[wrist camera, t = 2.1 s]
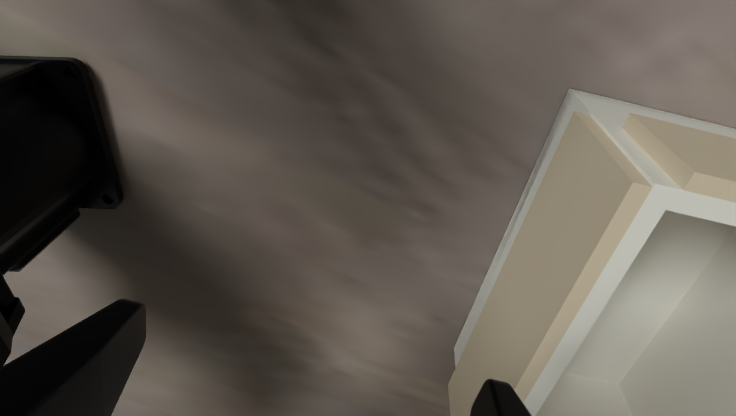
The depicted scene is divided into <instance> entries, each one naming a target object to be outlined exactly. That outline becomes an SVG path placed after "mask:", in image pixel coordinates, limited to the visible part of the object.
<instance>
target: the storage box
mask: <svg viewBox="0 0 736 416" xmlns="http://www.w3.org/2000/svg"><path fill="white" fill-rule="evenodd" d="M454 356H455V367H456V368H455V371H454V373H453V375H452V377H451V379H450V381H449V384H448V393H449V406H450V416H470V412H471V408H472V405H473V403H474V401H475V399H476V397H477V395H478V393H479V391H480V389H481V387H482V385H483V383H484V382H485V381H486V380H487V379H495V380H500V381H504V382H507V383H509V384H510V385H511V386H512V388H513V389H514V390H515V392H516V393H517V395H518V396H519V398H520V399H521V401H522V402H523V404H524V405H525V406H526V408H527V409H528V411H529V412H530V414H531V415H532V416H736V129H734V128H730V127H726V126H722V125H718V124H714V123H710V122H706V121H701V120H697V119H693V118H689V117H685V116H681V115H677V114H673V113H669V112H665V111H661V110H657V109H652V108H648V107H644V106H640V105H636V104H632V103H628V102H624V101H620V100H616V99H612V98H608V97H604V96H599V95H595V94H591V93H587V92H583V91H579V90H575V89H571V88H569V90H568V92H567V94H566V97H565V99H564V101H563V103H562V106H561V108H560V110H559V112H558V115H557V117H556V119H555V121H554V124H553V126H552V128H551V130H550V133H549V135H548V137H547V139H546V142H545V144H544V146H543V148H542V151H541V153H540V155H539V157H538V160H537V162H536V164H535V166H534V169H533V171H532V173H531V175H530V178H529V180H528V182H527V184H526V187H525V189H524V191H523V193H522V196H521V198H520V200H519V202H518V205H517V207H516V209H515V211H514V214H513V216H512V218H511V220H510V223H509V225H508V227H507V229H506V232H505V234H504V236H503V239H502V241H501V243H500V245H499V248H498V250H497V252H496V254H495V257H494V259H493V261H492V263H491V266H490V268H489V270H488V272H487V275H486V277H485V279H484V281H483V284H482V286H481V288H480V290H479V293H478V295H477V297H476V299H475V302H474V304H473V306H472V308H471V311H470V313H469V315H468V317H467V320H466V322H465V324H464V326H463V329H462V331H461V333H460V335H459V338H458V340H457V342H456V344H455V347H454Z"/></svg>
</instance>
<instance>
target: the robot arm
mask: <svg viewBox="0 0 736 416" xmlns="http://www.w3.org/2000/svg"><path fill="white" fill-rule="evenodd" d="M69 67H70V68H72V69H73V70H74V71H75V73H76V77H75V76H73V75H72V74H71V73H70V71H69ZM107 194H108V195H110V196H111V197H112V198H113V199H110V198H109V197H108V196H107ZM123 199H124V198H123V192H122V189H121V185H120V182H119V178H118V175H117V171H116V168H115V164H114V161H113V157H112V154H111V150H110V147H109V143H108V139H107V136H106V132H105V129H104V125H103V122H102V118H101V115H100V111H99V108H98V104H97V101H96V97H95V94H94V90H93V87H92V83H91V80H90V76H89V73H88V70H87V68H86V66H85V65H84V64H83V63H82V62H81V61H80V60H78V59H76V58H69V57H33V56H0V416H111V415H112V412H113V410H114V408H115V406H116V404H117V402H118V400H119V397H120V395H121V393H122V391H123V389H124V387H125V384H126V382H127V380H128V378H129V376H130V374H131V372H132V369H133V367H134V365H135V363H136V361H137V359H138V356H139V354H140V352H141V350H142V348H143V345H144V342H145V338H146V309H145V305H144V304H143V303H141V302H137V301H133V300H128V299H120V300H117V301H115V302H114V303H112V304H110V305H108V306H107V307H105V308H103V309H102V310H100V311H98V312H96V313H95V314H93V315H91V316H89V317H88V318H86V319H84V320H82V321H81V322H79V323H77V324H75V325H74V326H72V327H70V328H69V329H67V330H65V331H63V332H62V333H60V334H58V335H56V336H55V337H53V338H51V339H49V340H48V341H46V342H44V343H43V344H41V345H39V346H37V347H36V348H34V349H32V350H30V351H29V352H27V353H25V354H23V355H22V356H20V357H18V358H17V359H15V360H13V361H11V362H10V363H8V364H6V365H4V364H5V362H6V360H7V358H8V357H9V355H10V353H11V347H12V338H13V336H14V334H15V331H16V329H17V327H18V325H19V323H20V321H21V319H22V317H23V315H24V313H25V308H24V307H23V305H22V303H21V301H20V299H19V298H18V297H14V295H13V293H12V292H11V290H10V288H9V286H8V284H7V283H6V281H5V279H4V277H3V275H4V274H5V273H6V272H8V271H10V272H19V271H21V270H22V269H23V268H24V267H25V266H26V265H27V264H28V263H30V262H31V261H32V260H33V259H34V258H35V257H36V256H37V255H38V254H39V253H41V252H42V251H43V250H44V249H45V248H46V247H47V246H48V245H49V244H50V243H52V242H53V241H54V240H55V239H56V238H57V237H58V236H59V235H60V234H61V233H62V232H64V231H65V230H66V229H67V228H68V227H69V226H70V225H71V224H72V223H73V222H75V221H76V220H77V218H78V217H79V216H80V212H79V208H99V209H115V208H116V207H118V206H119V205H120V204H121V203H122V201H123ZM3 365H4V366H3ZM470 416H532V415H531V414H530V412H529V411H528V409H527V408H526V406H525V405H524V404H523V402H522V401H521V399H520V398H519V396H518V395H517V393H516V392H515V390H514V389H513V388H512V386H511V385H510V384H509V383H507V382H504V381H500V380H495V379H487V380H486V381H485V382H484V383H483V385H482V387H481V389H480V391H479V393H478V395H477V397H476V399H475V401H474V403H473V405H472V408H471V412H470Z"/></svg>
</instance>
